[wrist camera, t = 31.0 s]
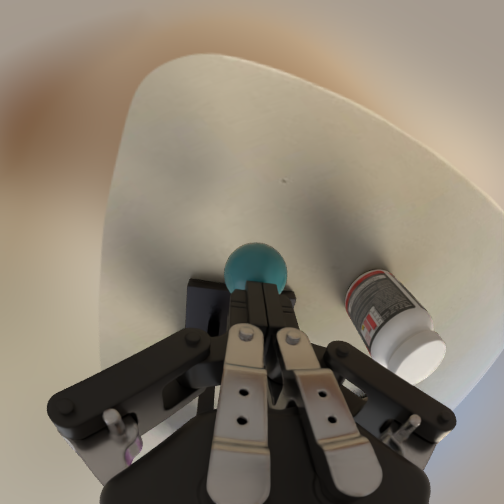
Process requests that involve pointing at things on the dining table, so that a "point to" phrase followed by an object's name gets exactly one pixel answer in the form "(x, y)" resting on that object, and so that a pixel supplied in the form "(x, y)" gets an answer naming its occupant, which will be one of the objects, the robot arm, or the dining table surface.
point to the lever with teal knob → (255, 267)
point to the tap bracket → (211, 320)
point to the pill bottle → (394, 326)
